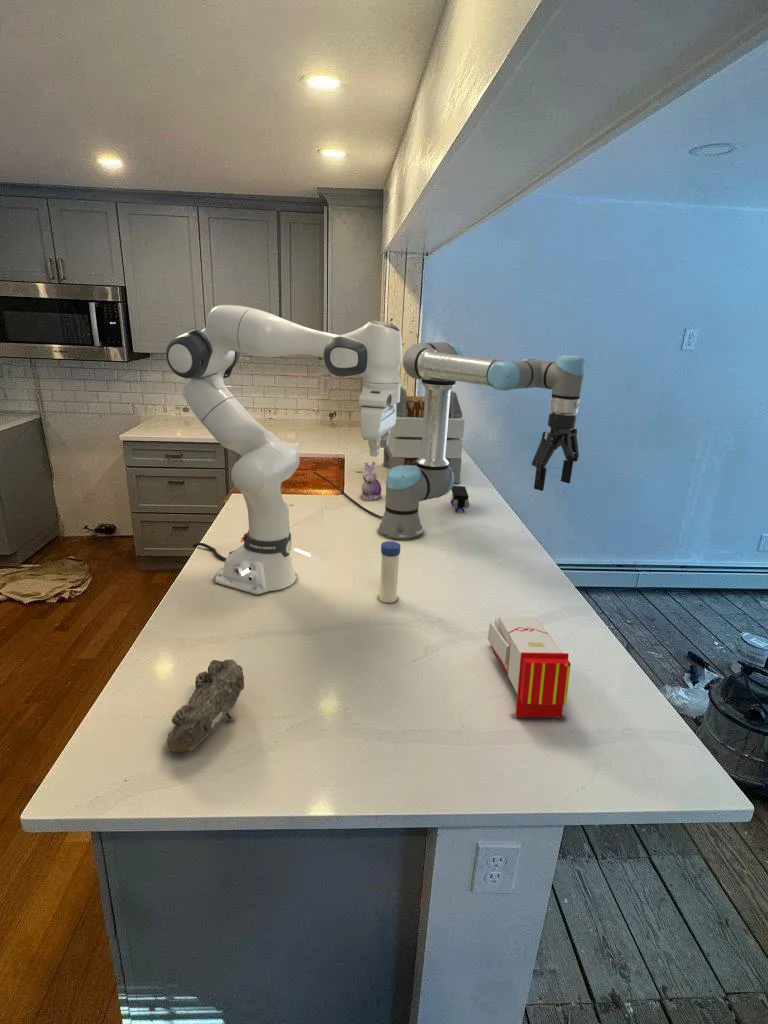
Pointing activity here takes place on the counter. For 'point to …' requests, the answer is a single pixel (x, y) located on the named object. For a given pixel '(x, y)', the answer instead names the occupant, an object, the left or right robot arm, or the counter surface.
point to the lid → (390, 548)
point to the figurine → (370, 483)
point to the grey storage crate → (410, 429)
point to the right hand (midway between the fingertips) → (552, 485)
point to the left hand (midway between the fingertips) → (379, 451)
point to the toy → (531, 665)
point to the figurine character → (459, 498)
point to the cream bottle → (389, 578)
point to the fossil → (206, 705)
